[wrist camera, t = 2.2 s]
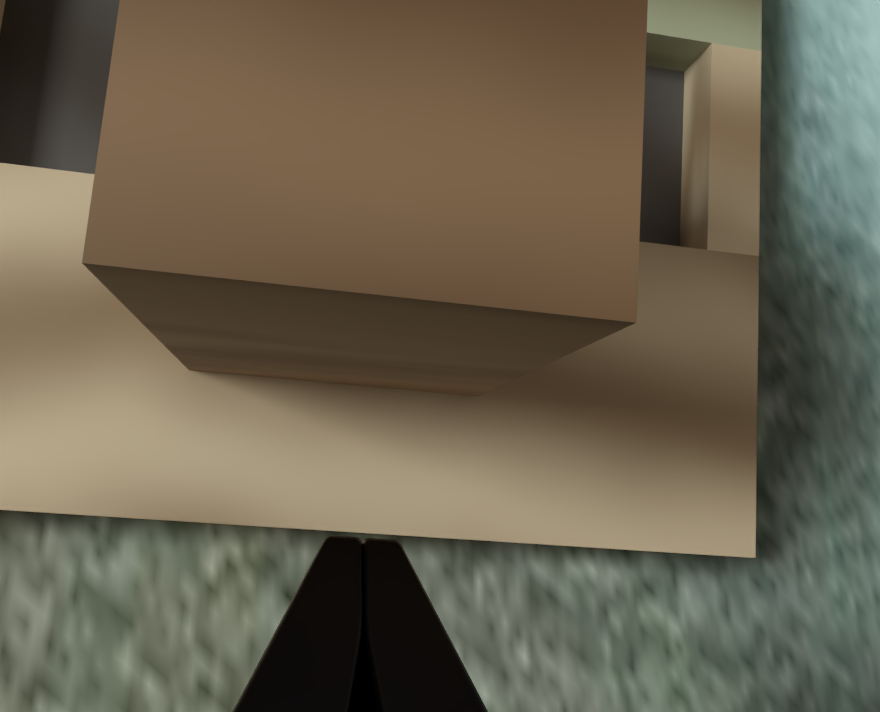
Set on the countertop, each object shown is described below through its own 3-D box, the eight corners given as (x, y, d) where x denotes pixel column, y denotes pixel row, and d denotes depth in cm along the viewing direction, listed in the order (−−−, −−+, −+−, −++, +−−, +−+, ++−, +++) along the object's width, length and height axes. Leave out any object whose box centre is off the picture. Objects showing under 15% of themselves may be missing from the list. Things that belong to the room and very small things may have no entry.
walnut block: (478, 396, 21) (636, 322, 11) (188, 370, 20) (81, 262, 10) (495, 131, 22) (652, -148, 12) (222, 93, 21) (155, -247, 11)
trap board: (717, 551, 23) (789, 563, 20) (-141, 495, 20) (-231, 498, 17) (729, -93, 27) (793, -178, 23) (-10, -234, 23) (-64, -358, 20)
